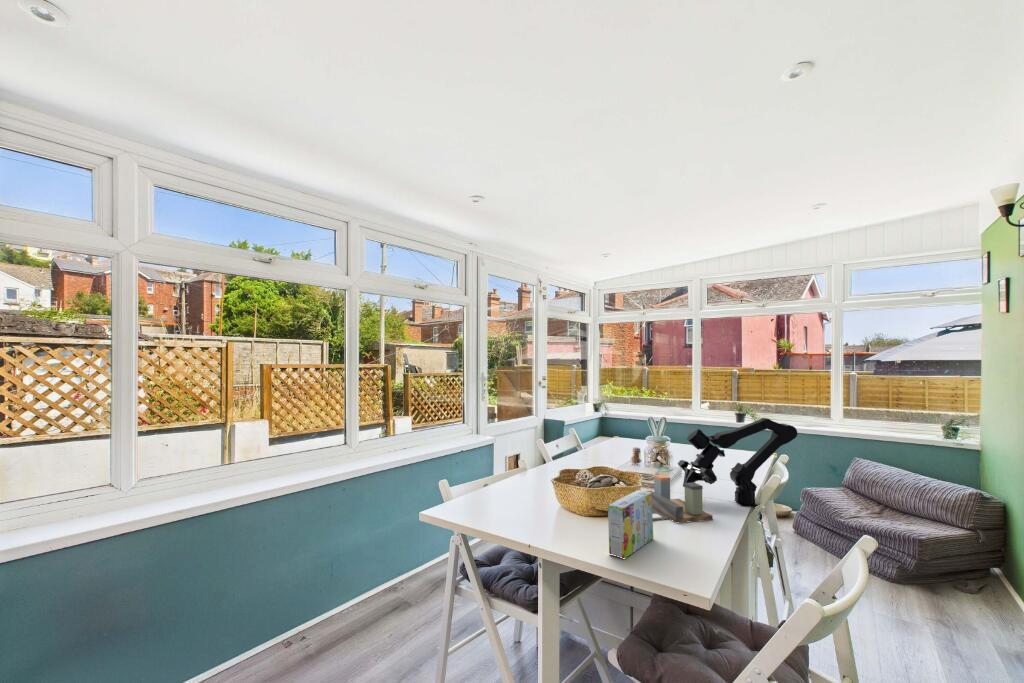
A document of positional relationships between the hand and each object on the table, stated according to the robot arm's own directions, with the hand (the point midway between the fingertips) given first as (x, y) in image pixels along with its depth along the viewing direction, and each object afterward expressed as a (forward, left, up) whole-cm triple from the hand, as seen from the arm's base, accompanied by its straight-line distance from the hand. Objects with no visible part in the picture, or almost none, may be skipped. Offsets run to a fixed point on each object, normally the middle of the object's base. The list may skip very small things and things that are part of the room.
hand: (684, 486), depth 186 cm
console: (+6, +9, -7) cm, 13 cm away
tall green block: (+1, +15, -5) cm, 16 cm away
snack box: (+31, +43, -8) cm, 54 cm away
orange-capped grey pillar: (+9, +3, -5) cm, 11 cm away
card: (+17, +12, -7) cm, 22 cm away
